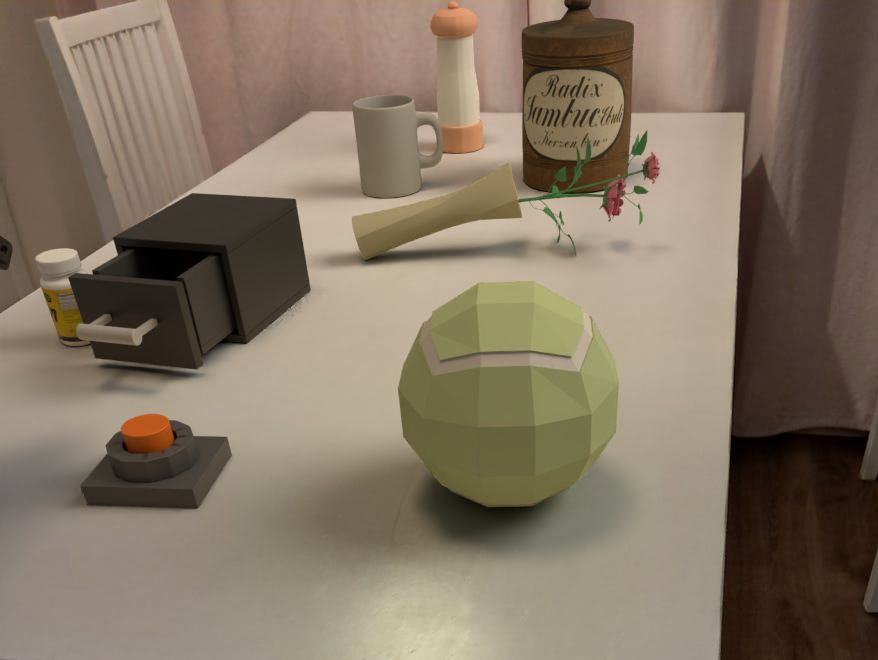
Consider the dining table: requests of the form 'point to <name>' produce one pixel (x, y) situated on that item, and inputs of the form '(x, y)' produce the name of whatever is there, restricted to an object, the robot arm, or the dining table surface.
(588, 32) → the wooden container
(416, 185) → the mug
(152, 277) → the drawer
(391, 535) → the dining table surface
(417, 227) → the flower vase
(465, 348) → the tennis ball
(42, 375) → the dining table surface
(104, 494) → the control block
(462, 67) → the pepper shaker
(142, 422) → the button
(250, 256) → the black cabinet
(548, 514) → the dining table surface
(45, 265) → the supplement bottle
